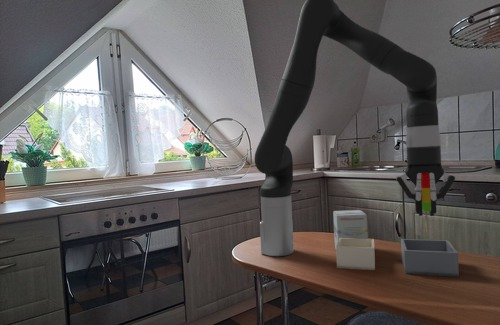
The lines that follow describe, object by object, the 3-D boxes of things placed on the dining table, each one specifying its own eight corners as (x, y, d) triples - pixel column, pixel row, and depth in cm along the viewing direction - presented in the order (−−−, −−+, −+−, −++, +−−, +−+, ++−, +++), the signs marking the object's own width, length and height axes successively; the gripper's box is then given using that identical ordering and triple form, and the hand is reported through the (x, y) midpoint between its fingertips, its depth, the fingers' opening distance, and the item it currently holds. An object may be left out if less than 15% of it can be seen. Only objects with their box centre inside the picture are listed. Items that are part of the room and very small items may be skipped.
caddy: (405, 273, 84) (404, 250, 84) (401, 259, 95) (400, 239, 95) (458, 276, 81) (458, 252, 80) (448, 261, 91) (448, 240, 91)
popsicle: (432, 235, 85) (429, 172, 84) (424, 235, 85) (421, 172, 85) (429, 230, 90) (426, 171, 89) (421, 229, 90) (418, 171, 90)
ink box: (362, 247, 108) (361, 208, 108) (369, 255, 100) (367, 213, 99) (334, 247, 109) (332, 209, 109) (338, 256, 101) (336, 214, 100)
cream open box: (336, 268, 91) (336, 246, 90) (340, 257, 99) (339, 237, 99) (375, 270, 88) (374, 248, 87) (374, 259, 96) (374, 239, 96)
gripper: (393, 146, 86) (396, 218, 86) (458, 143, 81) (461, 218, 82) (392, 146, 93) (395, 212, 93) (451, 143, 88) (454, 212, 89)
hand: (426, 215), depth 87 cm, fingers closed on popsicle, 2 cm apart
